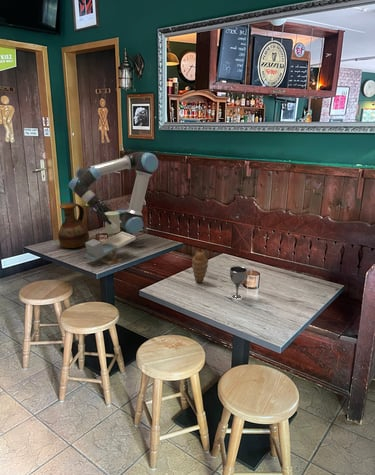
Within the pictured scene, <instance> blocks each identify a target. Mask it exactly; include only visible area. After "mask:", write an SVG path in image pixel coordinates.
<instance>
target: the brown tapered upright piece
mask: <svg viewBox="0 0 375 475" xmlns="http://www.w3.org/2000/svg"><path fill="white" fill-rule="evenodd" d="M194 253H195V254H194V256H193V257H192V259H191V263H192V265H191V268H192V272H193V278H194V281H195V282H196V283H198V284H201V283H202V282H204V280H205V277H206V273H207V270H208V267H209V266H208V263H209V259H208V258H207V257H206V251H203V252H202V251H198V250H195V252H194Z"/></svg>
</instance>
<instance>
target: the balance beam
mask: <svg viewBox="0 0 375 475" xmlns="http://www.w3.org/2000/svg"><path fill="white" fill-rule="evenodd" d="M135 240H137V238H136V235H134V234H133V235H130V234H128V233H125V232H120V233H118V234H116V235H114V234H113V235H111V236H110V237H108V238H106V239H104V244H103V242H102V241H99V240H97V239H95V238H92V239H89V241H88V242H86V243H85V244H84V245H85V248H86V251H87V253H84V257H86V258H87V259H89V260H91V261H93V262H95V261H98V260H97V259H99V258H101V257H103V256H105V255H107V254H109V253H111V254H112V250H116V251H117V250H119V249H121V248H122V247H125V246H126V245H130V244H129V243H131V242H133V241H134V242H135ZM134 242H133V243H134ZM131 244H132V243H131ZM102 245H103V246H102Z"/></svg>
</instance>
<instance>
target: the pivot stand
mask: <svg viewBox="0 0 375 475" xmlns="http://www.w3.org/2000/svg"><path fill="white" fill-rule="evenodd" d="M103 245H104V244H102V246H103ZM96 261H100V262H102V263H103V264H106V265H108V266H113V265H115V264H119V263H122V262H124V259H123V258H121V257H119V256H117V250H112V252H111V253H109V254H107V255H105V256H103V257H101V258H99V259H97V260H96Z"/></svg>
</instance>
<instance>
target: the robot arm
mask: <svg viewBox="0 0 375 475" xmlns="http://www.w3.org/2000/svg"><path fill="white" fill-rule="evenodd" d="M158 167H159V160H158V157H157V156H156V154H153V153H151V152H147V151H137V152H136V151H135V152H132V153H129V154H126V155H124V156H123V157H120V158H116V159H113V160H108V161H105V162H101V163H97V164H95V165H94V164H93V165H90V166H86V167H78V168H77V169H76V170H75V177H73V178H72V179H71V180H70V181H69V183H68V187H69V188H70V189H71V191H73V192H74V193H75V194H76V195H77V196H78V198H80V199H81V200H82V202H84V203H85V204H86V205H87V206H88V207H89V208H91V209H92V208H93V209H92V211H93V212H94V213H95V215H97V216H98V218H100V220H101V221H102V222H103V223H104V224H105V222H107V223H108V224H109V225H110V226H111V227H112V228H113V229H115V228H116V227H117V226H116V225H115V224H114V223H113V222H112V221H111V220H110V219H108V218H107V216H106V215H105V212H110V211H113V210H112V209H110V207H108V206H107V205H106V204H105V203H104V202H100V198H99V197H98V196H97V195H96V194H95V193H94V192H93V191H92V190H91V188H90V187H91V186H92V185H93V184H94V183H95V182H97V181H98V180H99V179H100V177H101V176H104V175H108V174H112V173H115V172H119V171H122V170H132V169H133V170H134V169H135V172H136V177H135V181H134V184H133V189H132V192H131V197H130V202H129V206H128V208H127V209H125V208H124V209H118V210H115V211H116V212H119V219H120V232H125V233H128V234H130V235H133V236H134V234H138V233H140V232H141V230H142V229H143V227H144V221H143V213H142V209H143V205H144V201H145V197H146V192H147V189H148V184H149V181H150V178H151V177H152V176H153V175H154V172H155V171H156V170H157V169H158ZM120 232H118V233H120ZM118 233H113V236H114V235H116V234H118ZM134 242H135V240H134V241H133V242H131V243H129V244H128V245H130V244H133V243H134Z"/></svg>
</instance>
